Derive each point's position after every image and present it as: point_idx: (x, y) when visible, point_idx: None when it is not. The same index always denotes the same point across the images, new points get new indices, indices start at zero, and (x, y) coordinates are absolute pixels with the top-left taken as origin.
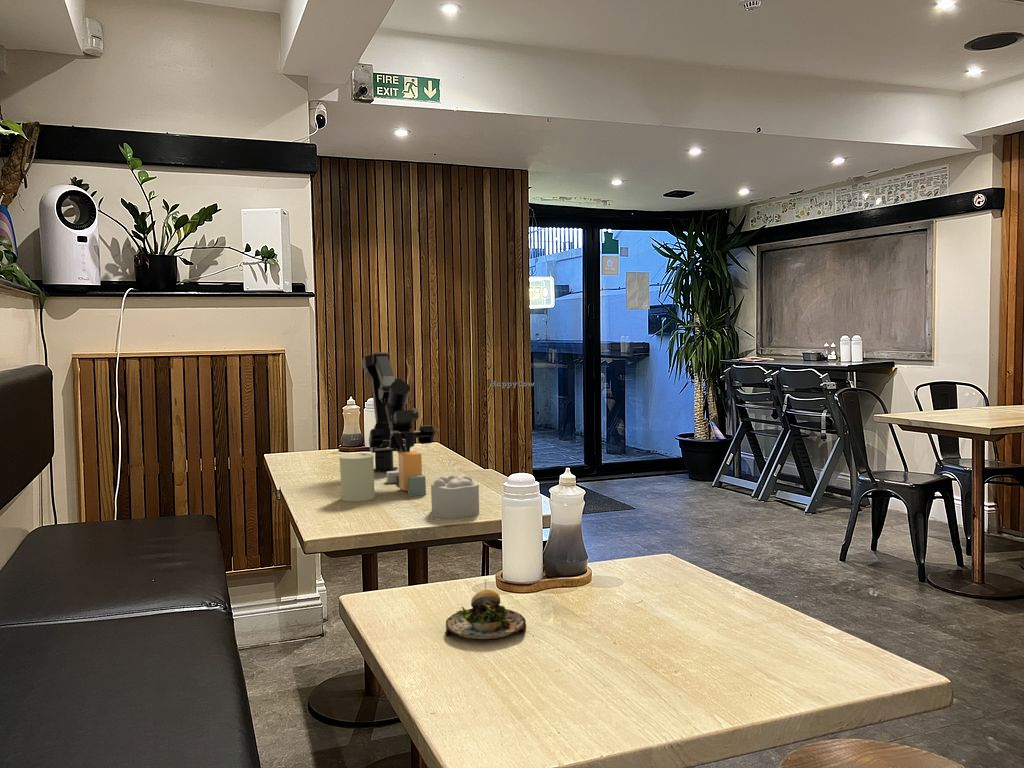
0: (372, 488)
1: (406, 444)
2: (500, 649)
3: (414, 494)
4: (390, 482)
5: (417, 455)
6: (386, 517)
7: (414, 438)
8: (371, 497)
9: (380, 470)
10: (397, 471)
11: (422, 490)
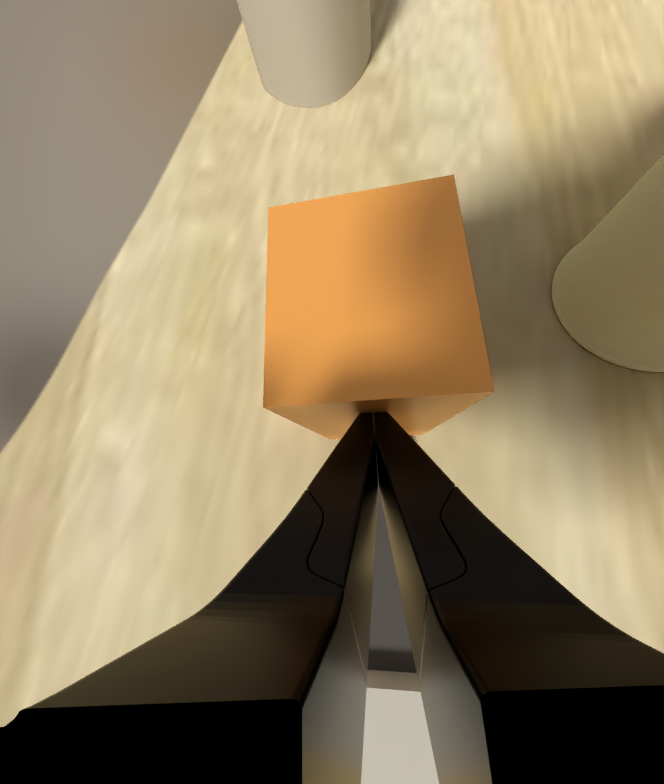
0: (595, 227)
1: (353, 534)
2: None
3: None
4: None
5: (308, 212)
6: (508, 21)
7: (71, 755)
8: (573, 248)
9: None
10: (409, 745)
11: None
